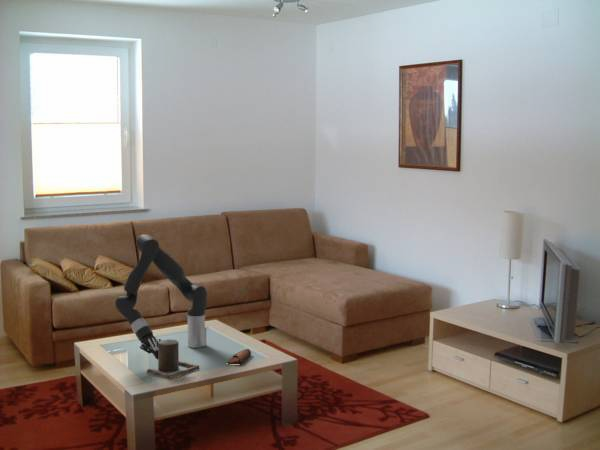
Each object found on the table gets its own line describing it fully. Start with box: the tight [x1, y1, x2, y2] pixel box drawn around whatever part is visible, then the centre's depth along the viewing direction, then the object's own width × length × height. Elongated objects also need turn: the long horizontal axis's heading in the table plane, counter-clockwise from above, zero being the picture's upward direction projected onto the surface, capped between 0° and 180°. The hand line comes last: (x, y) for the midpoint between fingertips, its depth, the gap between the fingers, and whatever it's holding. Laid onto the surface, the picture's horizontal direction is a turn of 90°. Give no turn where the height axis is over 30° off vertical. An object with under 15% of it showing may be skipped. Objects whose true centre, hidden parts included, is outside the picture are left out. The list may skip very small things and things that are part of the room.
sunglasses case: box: [226, 348, 252, 365], centre depth 360 cm, size 18×7×7 cm
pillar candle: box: [157, 338, 180, 373], centre depth 344 cm, size 10×10×15 cm
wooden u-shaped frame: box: [146, 360, 200, 380], centre depth 343 cm, size 16×19×2 cm
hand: (159, 358), depth 347 cm, fingers closed
